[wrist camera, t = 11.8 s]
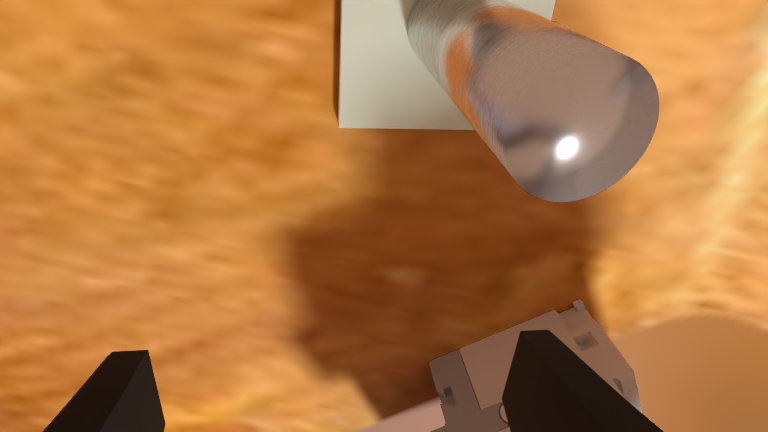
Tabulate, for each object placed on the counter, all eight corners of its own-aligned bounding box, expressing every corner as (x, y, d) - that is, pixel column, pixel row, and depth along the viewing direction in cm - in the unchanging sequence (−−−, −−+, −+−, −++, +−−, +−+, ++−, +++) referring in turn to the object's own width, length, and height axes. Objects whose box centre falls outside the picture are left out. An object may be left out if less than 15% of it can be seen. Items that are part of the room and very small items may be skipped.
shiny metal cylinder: (405, 69, 17) (494, 206, 9) (409, -22, 15) (519, 53, 8) (484, 68, 17) (632, 198, 10) (496, -21, 16) (681, 50, 8)
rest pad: (337, 122, 18) (338, 128, 18) (343, -108, 15) (344, -109, 14) (520, 125, 19) (526, 130, 19) (566, -88, 16) (575, -88, 15)
